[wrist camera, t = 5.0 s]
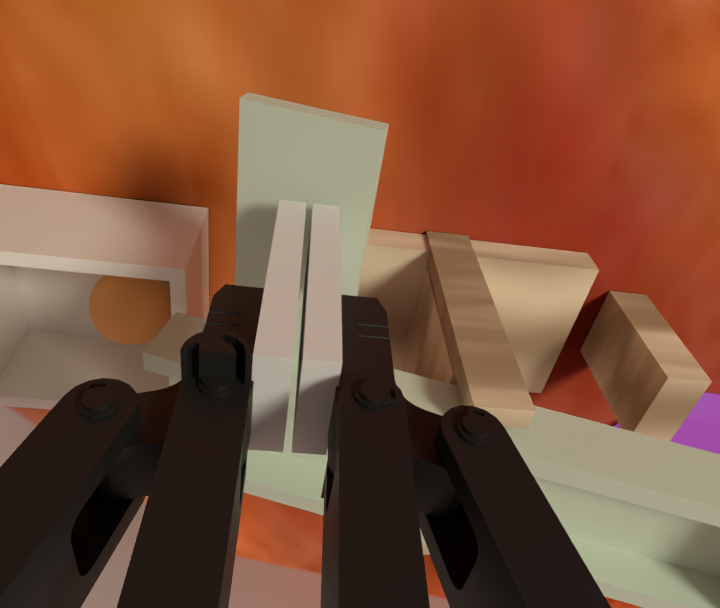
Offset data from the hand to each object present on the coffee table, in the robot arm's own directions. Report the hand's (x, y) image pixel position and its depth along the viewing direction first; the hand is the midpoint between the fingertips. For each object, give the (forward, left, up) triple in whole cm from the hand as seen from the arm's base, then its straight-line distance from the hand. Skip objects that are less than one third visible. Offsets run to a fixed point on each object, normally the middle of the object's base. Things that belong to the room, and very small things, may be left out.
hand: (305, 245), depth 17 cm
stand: (+8, +9, -9) cm, 15 cm away
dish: (+8, -9, -9) cm, 15 cm away
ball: (+8, -7, -6) cm, 13 cm away
